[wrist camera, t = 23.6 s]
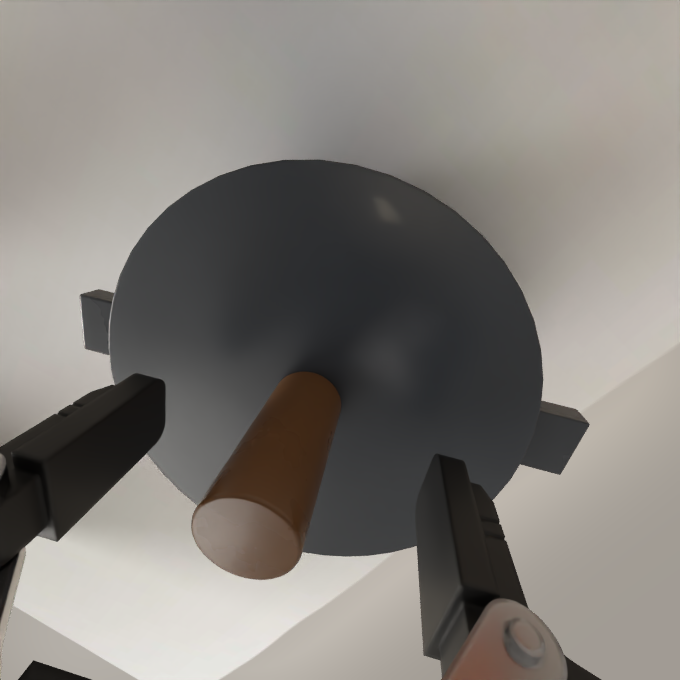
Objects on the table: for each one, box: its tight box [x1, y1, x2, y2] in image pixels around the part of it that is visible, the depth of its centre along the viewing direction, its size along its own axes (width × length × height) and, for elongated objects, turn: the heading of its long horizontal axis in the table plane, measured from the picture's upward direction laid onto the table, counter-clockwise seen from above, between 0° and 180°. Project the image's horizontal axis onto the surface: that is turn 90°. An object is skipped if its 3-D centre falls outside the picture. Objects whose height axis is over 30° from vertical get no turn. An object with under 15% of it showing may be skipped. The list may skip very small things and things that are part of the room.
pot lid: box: [109, 160, 543, 580], centre depth 10 cm, size 15×15×7 cm
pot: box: [80, 289, 589, 475], centre depth 17 cm, size 14×20×10 cm
